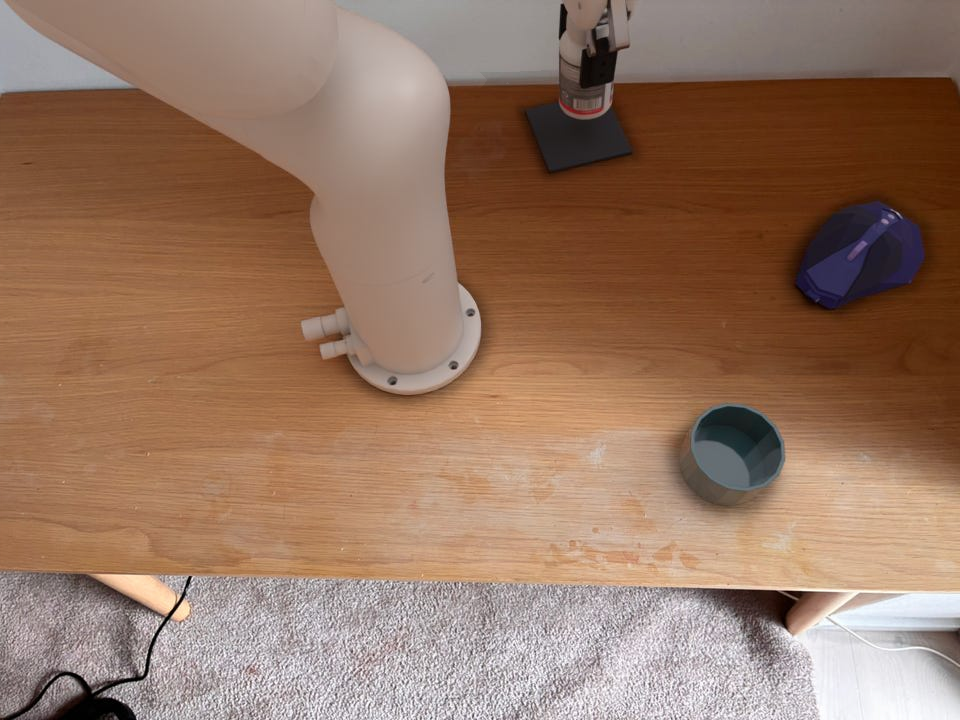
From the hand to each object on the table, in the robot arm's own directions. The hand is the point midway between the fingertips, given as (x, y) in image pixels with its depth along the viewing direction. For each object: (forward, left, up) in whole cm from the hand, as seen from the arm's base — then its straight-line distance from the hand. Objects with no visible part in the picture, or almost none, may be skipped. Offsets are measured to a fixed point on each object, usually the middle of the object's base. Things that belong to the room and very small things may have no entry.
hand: (585, 59), depth 65 cm
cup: (0, -38, -9) cm, 39 cm away
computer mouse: (+20, -23, -9) cm, 32 cm away
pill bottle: (0, 0, -5) cm, 5 cm away
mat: (0, 0, -9) cm, 9 cm away
